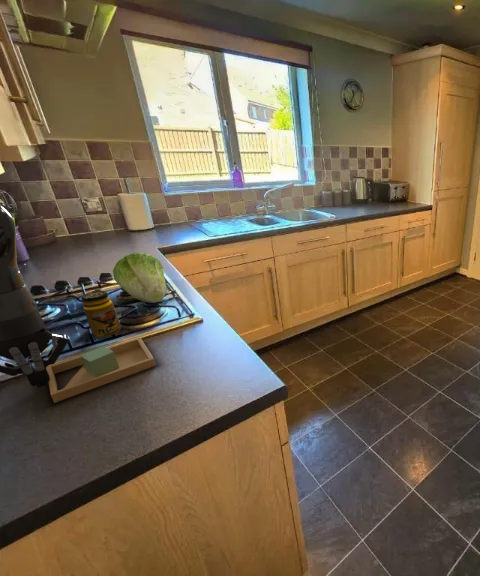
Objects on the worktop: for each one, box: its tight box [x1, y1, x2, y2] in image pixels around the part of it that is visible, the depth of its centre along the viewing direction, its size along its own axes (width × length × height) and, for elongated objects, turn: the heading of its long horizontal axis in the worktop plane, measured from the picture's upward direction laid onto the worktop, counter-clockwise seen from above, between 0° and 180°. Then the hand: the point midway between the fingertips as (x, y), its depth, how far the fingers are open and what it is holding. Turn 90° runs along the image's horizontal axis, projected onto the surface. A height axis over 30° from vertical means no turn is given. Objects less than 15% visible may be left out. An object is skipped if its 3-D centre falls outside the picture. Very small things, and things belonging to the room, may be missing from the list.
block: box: [79, 345, 119, 377], centre depth 74 cm, size 4×4×4 cm
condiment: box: [81, 290, 122, 338], centre depth 88 cm, size 7×8×12 cm
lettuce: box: [112, 251, 167, 304], centre depth 110 cm, size 14×24×14 cm
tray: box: [46, 337, 157, 404], centre depth 75 cm, size 18×13×3 cm
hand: (42, 384), depth 68 cm, fingers closed
